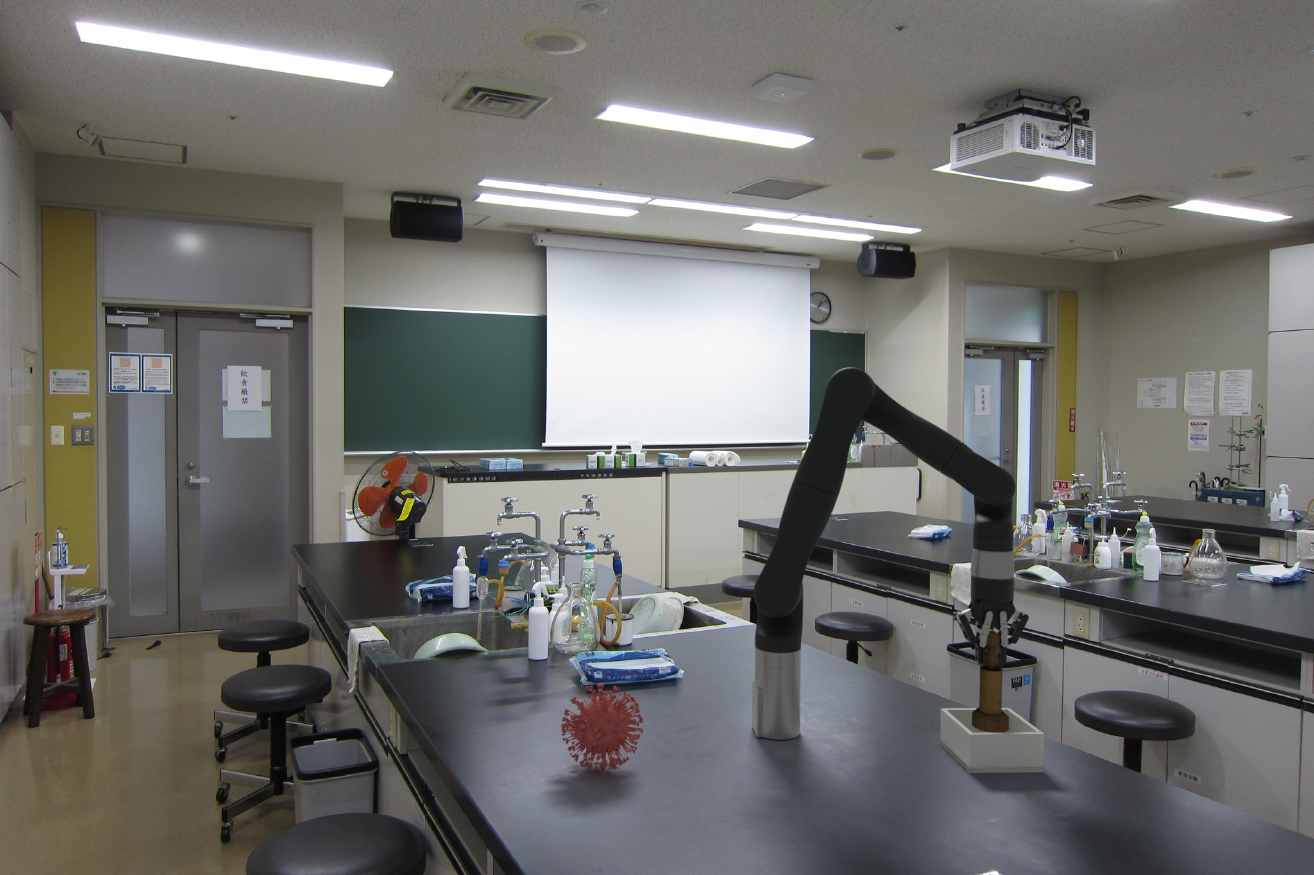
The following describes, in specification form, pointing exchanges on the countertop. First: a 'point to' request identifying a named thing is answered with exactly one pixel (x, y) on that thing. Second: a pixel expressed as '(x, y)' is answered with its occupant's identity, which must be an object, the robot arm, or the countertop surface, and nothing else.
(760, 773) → the countertop surface
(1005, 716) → the mortar and pestle
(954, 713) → the box
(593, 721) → the virus model
